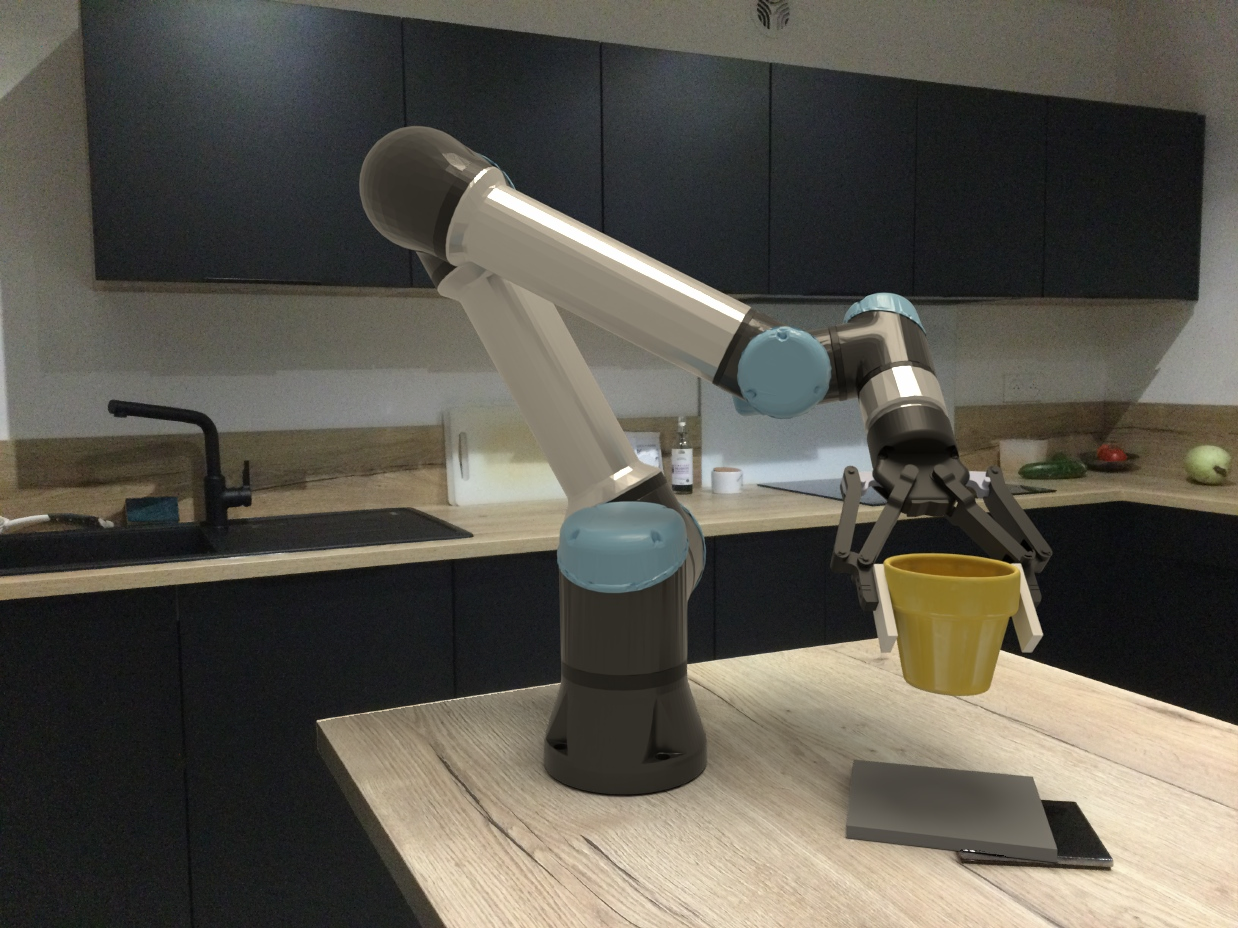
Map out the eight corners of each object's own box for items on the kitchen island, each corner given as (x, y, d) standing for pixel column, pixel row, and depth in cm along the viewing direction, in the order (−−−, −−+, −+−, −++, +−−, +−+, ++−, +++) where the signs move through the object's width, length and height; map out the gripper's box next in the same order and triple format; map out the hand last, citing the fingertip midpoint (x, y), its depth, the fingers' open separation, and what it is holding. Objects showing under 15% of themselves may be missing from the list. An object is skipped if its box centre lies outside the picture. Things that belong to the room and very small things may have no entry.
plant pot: (953, 657, 84) (957, 547, 83) (1045, 694, 75) (1051, 571, 74) (854, 671, 81) (857, 556, 80) (938, 712, 71) (942, 582, 70)
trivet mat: (846, 837, 74) (846, 825, 74) (853, 769, 87) (853, 759, 87) (1057, 862, 70) (1057, 849, 70) (1032, 787, 83) (1032, 776, 83)
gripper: (1019, 454, 91) (1091, 666, 77) (777, 455, 91) (805, 667, 77) (1045, 400, 85) (1129, 619, 71) (787, 401, 86) (820, 620, 72)
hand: (960, 644), depth 74 cm, fingers closed on plant pot, 10 cm apart
